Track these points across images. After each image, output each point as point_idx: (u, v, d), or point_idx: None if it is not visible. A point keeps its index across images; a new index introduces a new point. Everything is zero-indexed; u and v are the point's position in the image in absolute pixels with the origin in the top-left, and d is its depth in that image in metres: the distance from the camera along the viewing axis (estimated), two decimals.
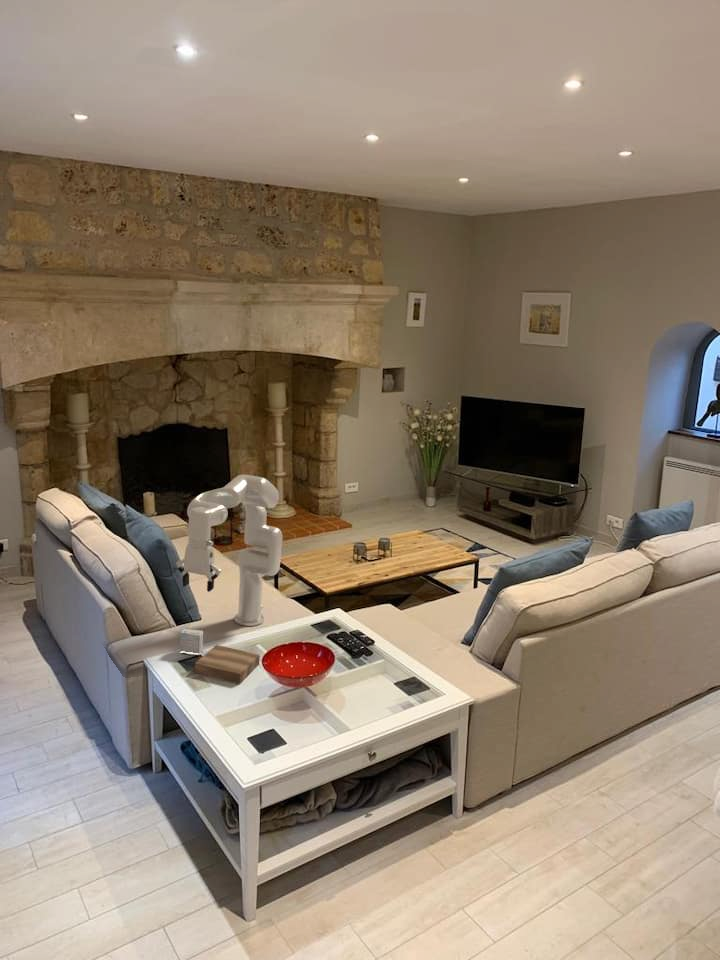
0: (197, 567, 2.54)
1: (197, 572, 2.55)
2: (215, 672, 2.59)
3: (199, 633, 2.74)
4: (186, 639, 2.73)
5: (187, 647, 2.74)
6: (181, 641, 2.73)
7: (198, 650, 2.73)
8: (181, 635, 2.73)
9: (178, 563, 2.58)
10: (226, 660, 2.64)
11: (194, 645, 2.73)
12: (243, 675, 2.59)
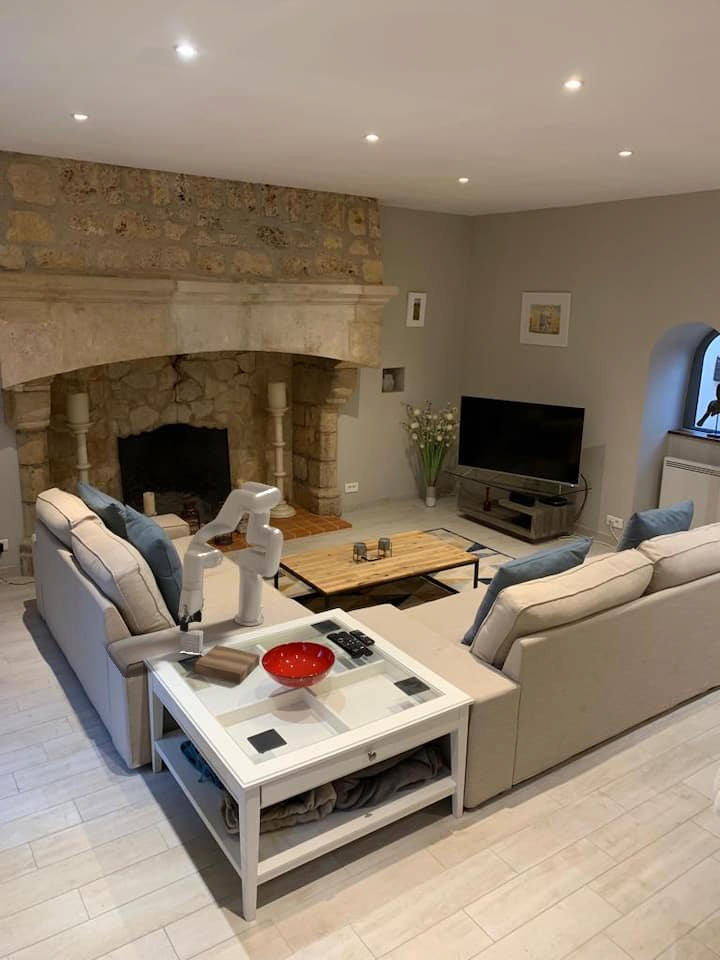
0: (198, 605, 2.71)
1: (197, 609, 2.72)
2: (215, 672, 2.59)
3: (199, 633, 2.74)
4: (186, 639, 2.73)
5: (187, 647, 2.74)
6: (181, 641, 2.73)
7: (198, 650, 2.73)
8: (181, 635, 2.73)
9: (182, 613, 2.64)
10: (226, 660, 2.64)
11: (194, 645, 2.73)
12: (243, 675, 2.59)
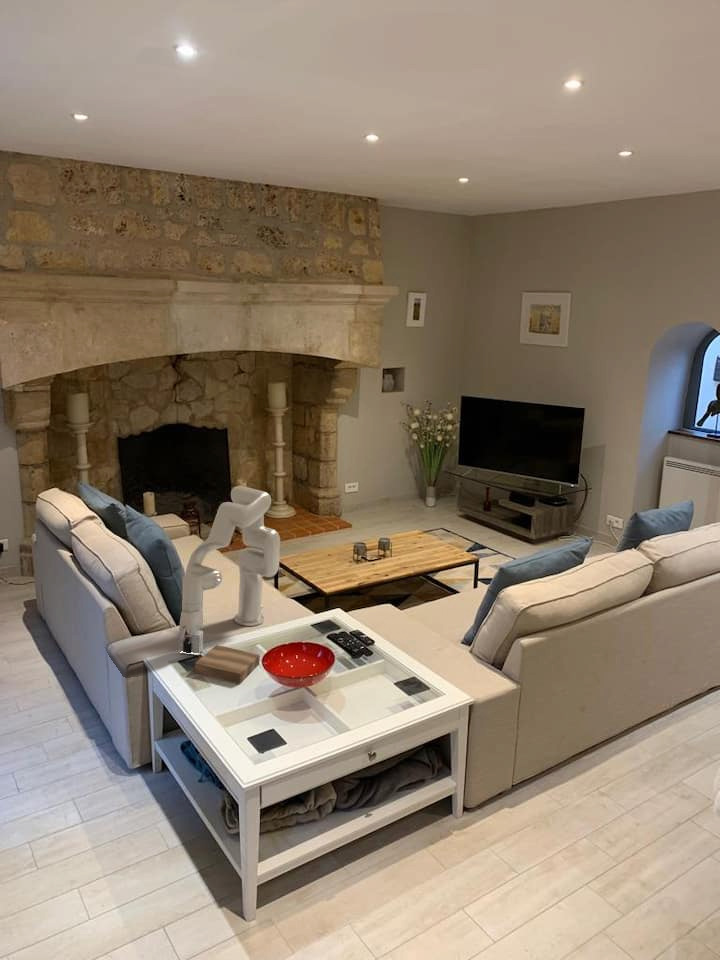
0: (198, 625, 2.74)
1: (197, 630, 2.74)
2: (215, 672, 2.59)
3: (199, 633, 2.74)
4: None
5: None
6: (181, 641, 2.73)
7: (198, 650, 2.73)
8: None
9: (184, 637, 2.68)
10: (226, 660, 2.64)
11: (194, 645, 2.73)
12: (243, 675, 2.59)
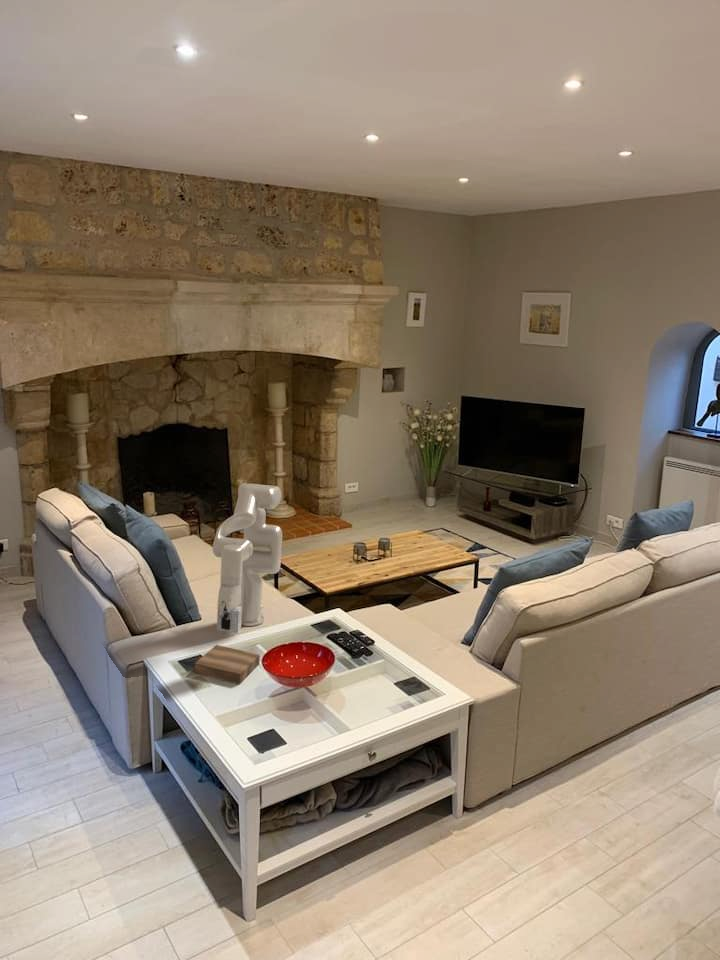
0: (237, 601, 2.61)
1: (236, 606, 2.61)
2: (215, 672, 2.59)
3: (238, 609, 2.61)
4: None
5: None
6: (219, 617, 2.60)
7: (237, 627, 2.60)
8: (219, 611, 2.60)
9: (223, 613, 2.55)
10: (226, 660, 2.64)
11: (233, 621, 2.60)
12: (243, 675, 2.59)
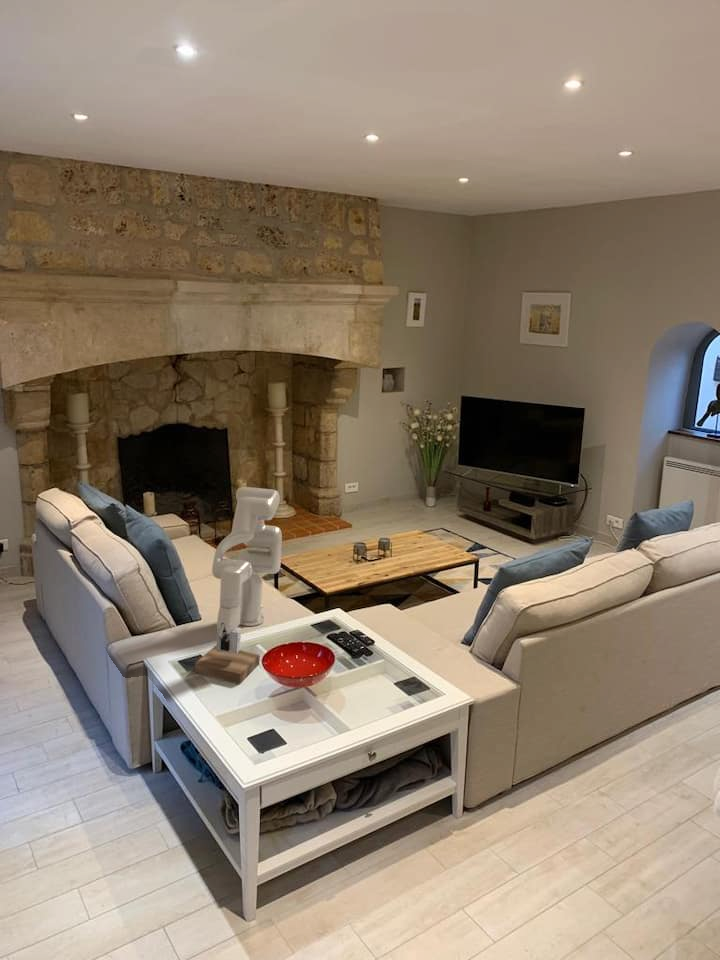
0: (236, 622, 2.63)
1: (235, 627, 2.63)
2: (215, 672, 2.59)
3: (237, 630, 2.62)
4: None
5: None
6: (218, 638, 2.62)
7: (236, 648, 2.62)
8: None
9: (222, 635, 2.57)
10: (226, 660, 2.64)
11: (232, 643, 2.62)
12: (243, 675, 2.59)
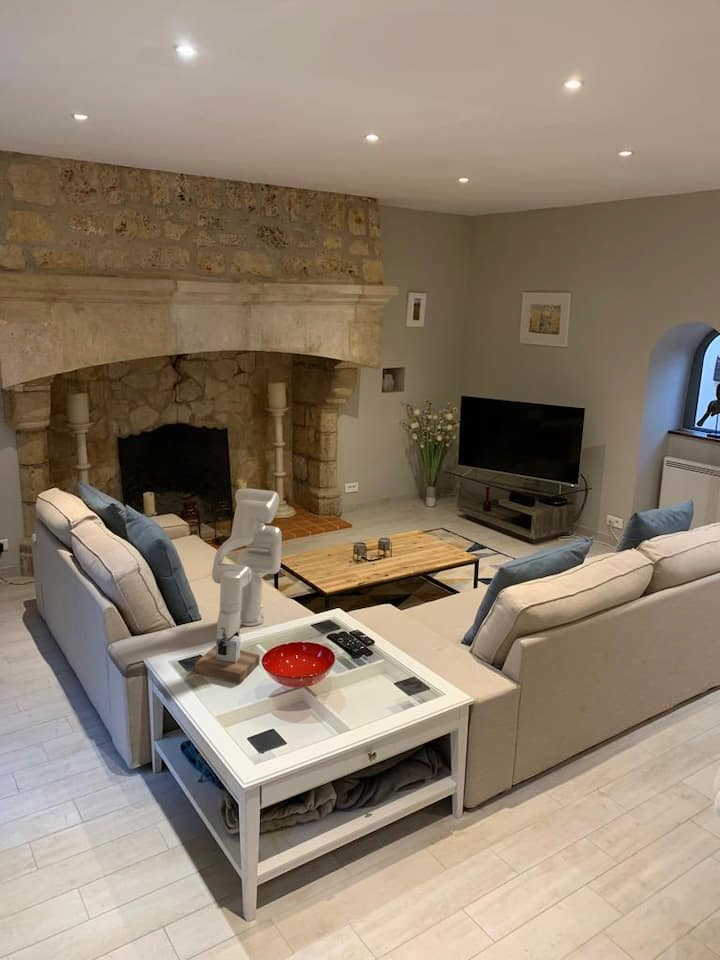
0: (236, 627, 2.63)
1: (235, 632, 2.63)
2: (215, 672, 2.59)
3: (236, 639, 2.63)
4: None
5: None
6: (217, 646, 2.63)
7: (235, 656, 2.63)
8: None
9: (220, 637, 2.56)
10: None
11: (231, 651, 2.62)
12: (243, 675, 2.59)
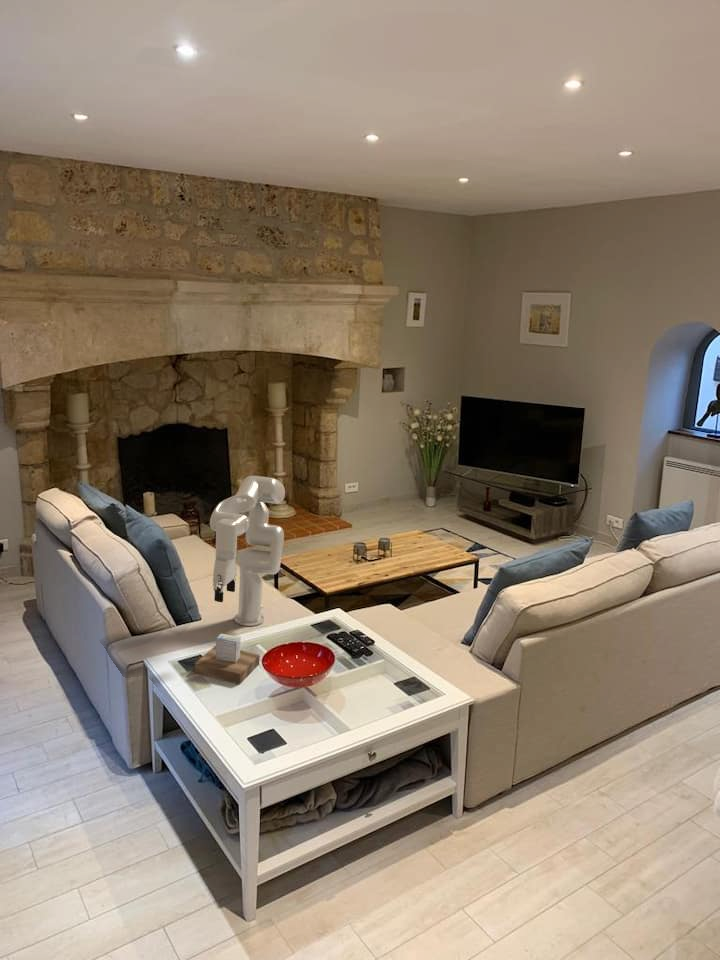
0: (232, 574, 2.65)
1: (231, 579, 2.66)
2: (215, 672, 2.59)
3: (236, 639, 2.63)
4: (222, 644, 2.62)
5: (223, 653, 2.63)
6: (217, 646, 2.63)
7: (235, 656, 2.63)
8: (218, 640, 2.62)
9: (217, 584, 2.58)
10: None
11: (231, 651, 2.62)
12: (243, 675, 2.59)
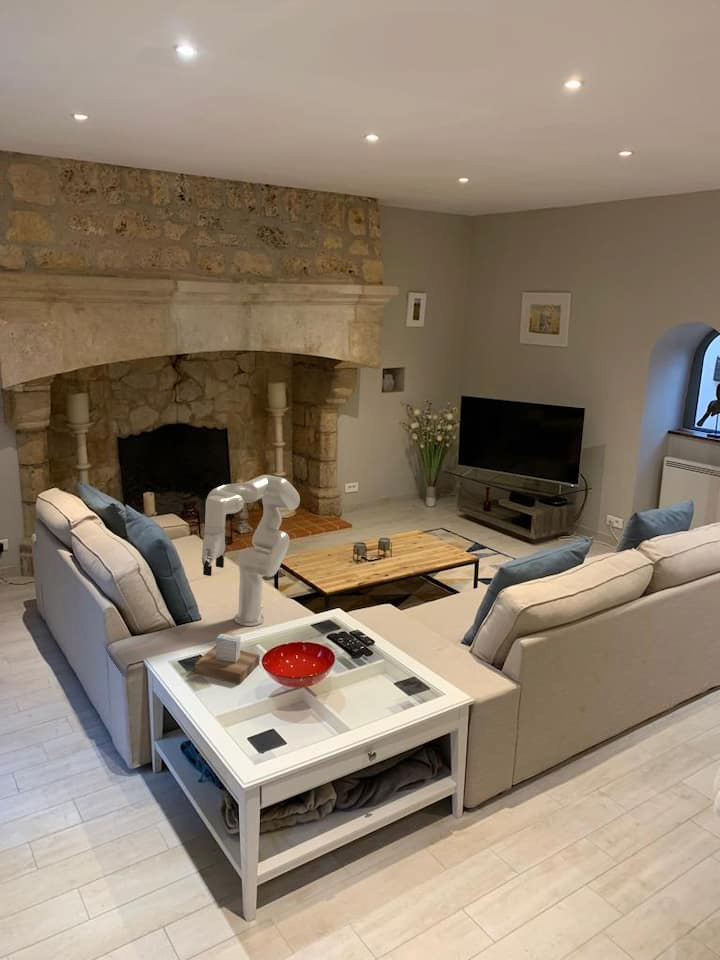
0: (220, 550, 2.76)
1: (220, 554, 2.76)
2: (215, 672, 2.59)
3: (236, 639, 2.63)
4: (222, 644, 2.62)
5: (223, 653, 2.63)
6: (217, 646, 2.63)
7: (235, 656, 2.63)
8: (218, 640, 2.62)
9: (205, 557, 2.68)
10: None
11: (231, 651, 2.62)
12: (243, 675, 2.59)
